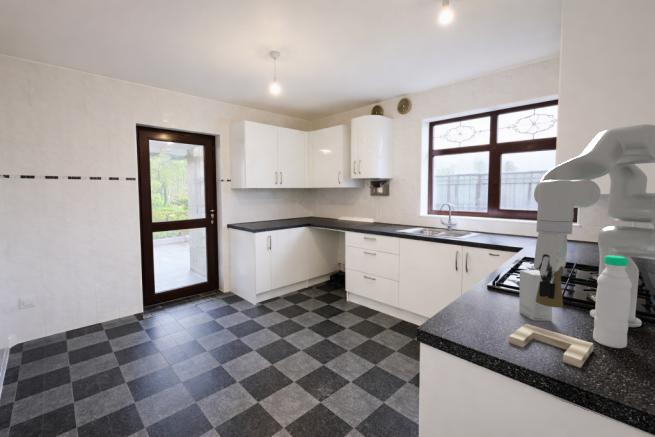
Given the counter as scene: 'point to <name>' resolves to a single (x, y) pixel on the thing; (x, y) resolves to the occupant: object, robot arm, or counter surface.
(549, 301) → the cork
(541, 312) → the skincare box
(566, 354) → the wooden u-shaped block
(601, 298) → the water bottle
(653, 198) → the robot arm
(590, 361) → the counter surface
